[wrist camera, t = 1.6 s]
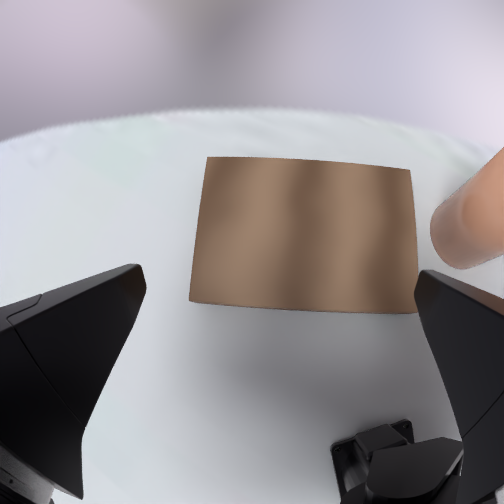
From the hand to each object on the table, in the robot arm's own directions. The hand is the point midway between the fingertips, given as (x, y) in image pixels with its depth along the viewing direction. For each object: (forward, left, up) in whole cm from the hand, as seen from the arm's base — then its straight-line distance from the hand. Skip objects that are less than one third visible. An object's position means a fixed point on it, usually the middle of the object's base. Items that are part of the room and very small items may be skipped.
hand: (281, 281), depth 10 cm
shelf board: (+5, -3, -14) cm, 15 cm away
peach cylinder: (+2, -16, -14) cm, 21 cm away
